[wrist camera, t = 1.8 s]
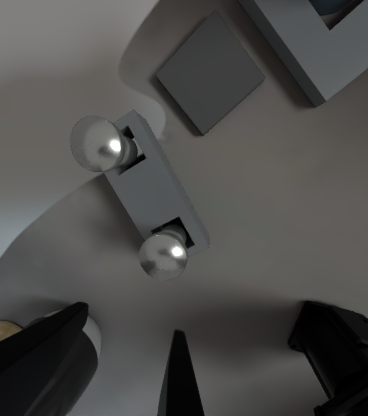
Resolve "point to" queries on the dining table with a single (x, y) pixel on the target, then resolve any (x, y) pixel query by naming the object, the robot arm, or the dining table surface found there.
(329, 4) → the cartridge
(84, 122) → the plunger
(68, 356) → the dark egg shaped device
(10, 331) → the hand bell
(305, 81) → the socket plate
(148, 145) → the bar
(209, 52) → the mat
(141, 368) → the dining table surface
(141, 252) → the plunger
